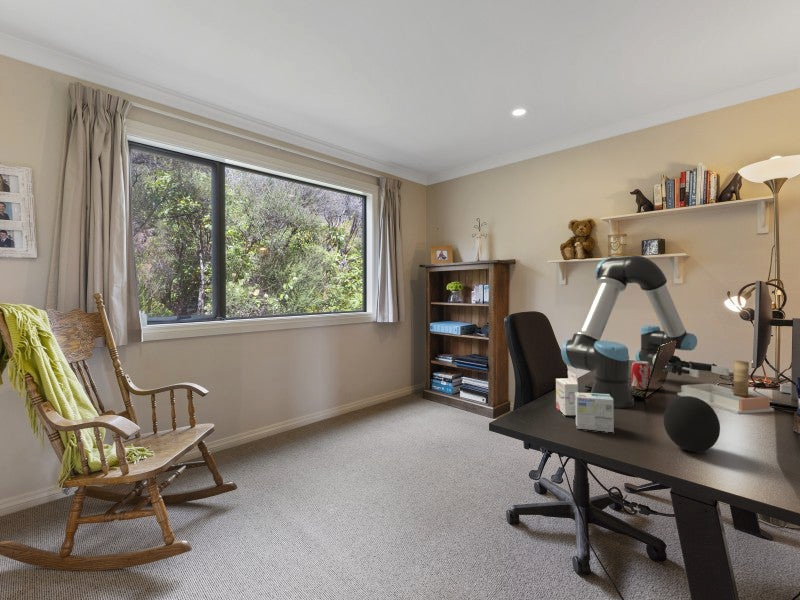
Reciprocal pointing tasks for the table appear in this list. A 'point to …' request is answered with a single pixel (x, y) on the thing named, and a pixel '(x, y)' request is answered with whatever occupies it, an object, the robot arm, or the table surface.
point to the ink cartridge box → (566, 394)
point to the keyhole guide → (727, 398)
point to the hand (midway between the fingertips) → (713, 373)
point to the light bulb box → (594, 411)
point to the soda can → (640, 373)
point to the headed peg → (741, 378)
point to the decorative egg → (691, 424)
